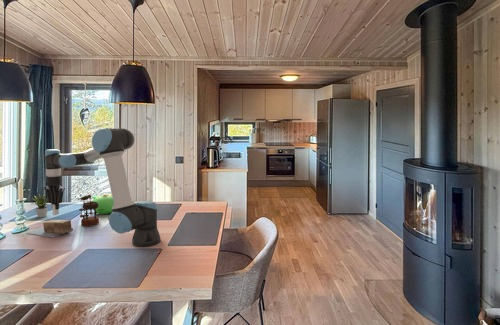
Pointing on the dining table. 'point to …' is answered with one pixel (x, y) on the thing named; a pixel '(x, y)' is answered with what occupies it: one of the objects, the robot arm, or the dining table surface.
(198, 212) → the dining table surface
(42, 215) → the house plant
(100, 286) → the dining table surface
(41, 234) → the mat
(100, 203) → the green rounded lump
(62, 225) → the brown rectangular block
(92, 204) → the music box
